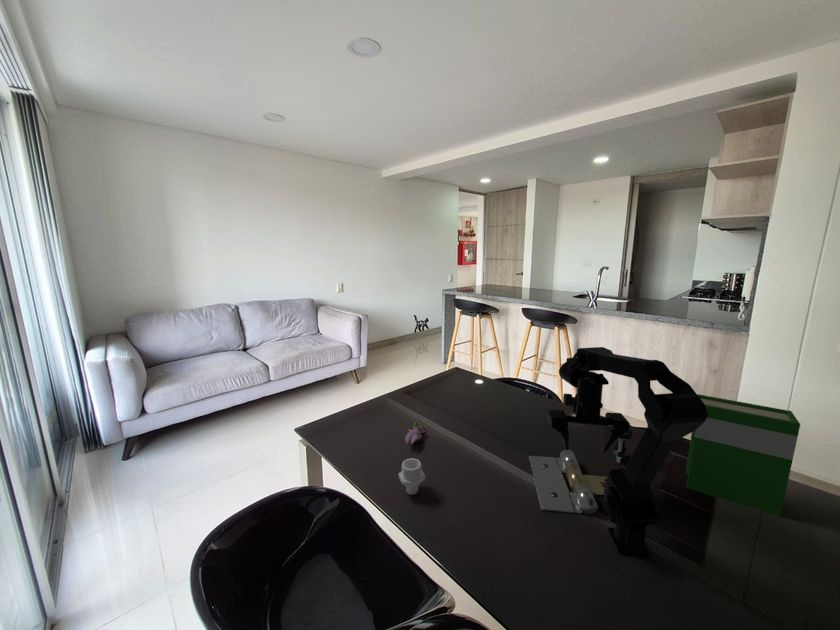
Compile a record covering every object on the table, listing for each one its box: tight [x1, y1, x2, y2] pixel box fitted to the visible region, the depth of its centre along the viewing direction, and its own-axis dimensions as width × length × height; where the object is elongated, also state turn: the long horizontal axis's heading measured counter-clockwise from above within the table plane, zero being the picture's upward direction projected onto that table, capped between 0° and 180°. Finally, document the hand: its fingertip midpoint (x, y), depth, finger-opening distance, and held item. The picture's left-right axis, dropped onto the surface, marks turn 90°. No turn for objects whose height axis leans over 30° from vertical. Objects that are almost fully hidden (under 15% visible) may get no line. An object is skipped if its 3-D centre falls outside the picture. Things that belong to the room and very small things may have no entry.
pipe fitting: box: [398, 457, 426, 495], centre depth 92 cm, size 6×7×8 cm
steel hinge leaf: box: [528, 449, 599, 515], centre depth 94 cm, size 21×13×4 cm, turn 171°
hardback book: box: [685, 393, 801, 517], centre depth 87 cm, size 18×7×24 cm, turn 55°
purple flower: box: [404, 420, 427, 445], centre depth 117 cm, size 6×6×15 cm
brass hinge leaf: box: [565, 464, 608, 495], centre depth 93 cm, size 7×13×4 cm, turn 81°
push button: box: [613, 429, 634, 464], centre depth 104 cm, size 7×5×10 cm
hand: (584, 450), depth 91 cm, fingers open, 9 cm apart
